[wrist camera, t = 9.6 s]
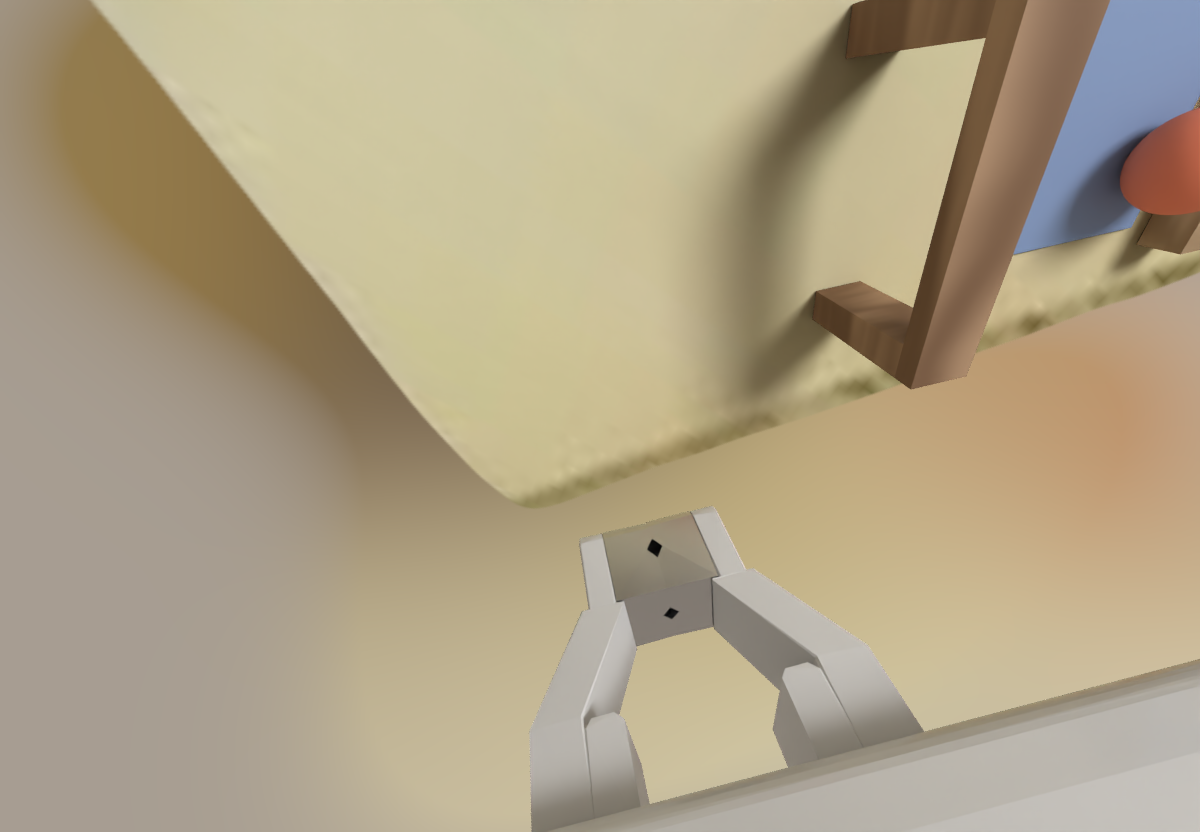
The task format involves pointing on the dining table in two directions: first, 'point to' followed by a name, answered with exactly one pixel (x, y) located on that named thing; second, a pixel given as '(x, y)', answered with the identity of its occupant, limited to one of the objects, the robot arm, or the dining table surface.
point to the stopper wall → (1173, 233)
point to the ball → (1166, 168)
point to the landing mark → (1115, 117)
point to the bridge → (969, 172)
